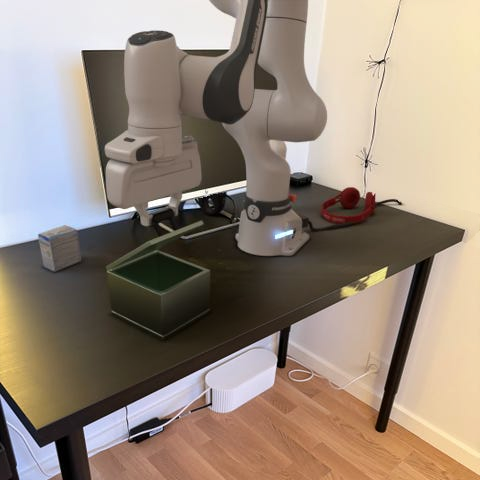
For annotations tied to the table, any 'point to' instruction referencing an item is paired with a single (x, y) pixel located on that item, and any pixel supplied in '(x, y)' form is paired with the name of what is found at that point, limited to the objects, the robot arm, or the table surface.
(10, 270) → the table surface
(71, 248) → the medicine box
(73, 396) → the table surface
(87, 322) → the table surface
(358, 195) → the headphones
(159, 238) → the lid
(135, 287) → the green hollow box
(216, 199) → the controller
